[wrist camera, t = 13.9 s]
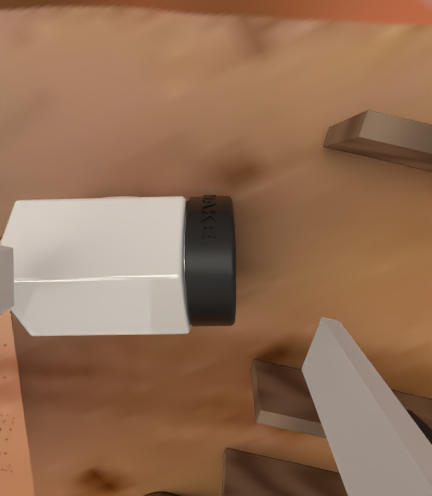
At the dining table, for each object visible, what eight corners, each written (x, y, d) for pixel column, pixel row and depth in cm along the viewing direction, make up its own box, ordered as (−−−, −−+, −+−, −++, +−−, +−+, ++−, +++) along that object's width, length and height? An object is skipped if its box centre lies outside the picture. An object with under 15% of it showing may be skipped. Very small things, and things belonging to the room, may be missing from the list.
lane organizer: (223, 456, 26) (221, 519, 21) (329, 127, 17) (368, 110, 12) (434, 503, 26) (479, 576, 22) (654, 203, 17) (818, 215, 12)
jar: (79, 203, 20) (228, 199, 20) (87, 301, 21) (230, 298, 21) (-28, 191, 12) (236, 185, 11) (-6, 360, 12) (237, 357, 12)
